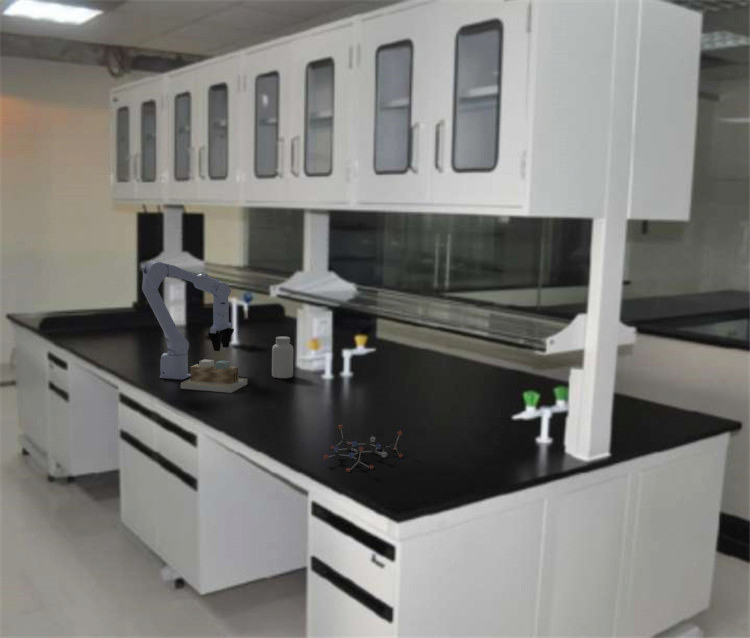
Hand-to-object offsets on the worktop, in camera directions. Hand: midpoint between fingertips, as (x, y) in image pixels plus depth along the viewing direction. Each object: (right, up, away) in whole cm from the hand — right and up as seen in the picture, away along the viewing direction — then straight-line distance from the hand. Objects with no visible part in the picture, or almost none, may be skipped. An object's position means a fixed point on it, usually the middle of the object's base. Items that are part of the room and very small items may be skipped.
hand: (221, 349), depth 306 cm
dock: (+1, -12, -20) cm, 23 cm away
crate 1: (-1, -5, -20) cm, 20 cm away
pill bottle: (+23, -11, -2) cm, 26 cm away
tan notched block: (+1, -11, -20) cm, 23 cm away
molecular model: (+54, -25, -94) cm, 111 cm away
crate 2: (+5, -6, -21) cm, 22 cm away
